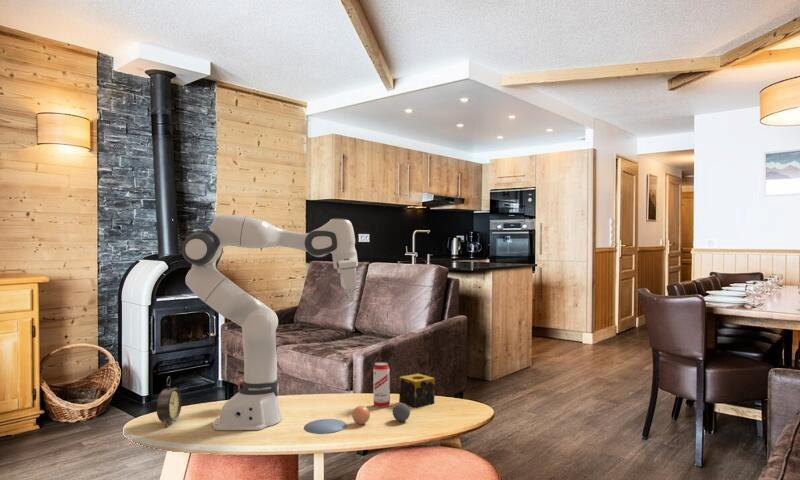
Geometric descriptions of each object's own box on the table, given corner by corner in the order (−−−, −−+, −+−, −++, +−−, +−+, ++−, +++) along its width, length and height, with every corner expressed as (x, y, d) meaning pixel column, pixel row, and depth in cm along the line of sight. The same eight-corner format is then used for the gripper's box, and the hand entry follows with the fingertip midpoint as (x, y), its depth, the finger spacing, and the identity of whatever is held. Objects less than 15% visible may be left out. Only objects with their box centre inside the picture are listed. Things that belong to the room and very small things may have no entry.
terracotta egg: (353, 427, 164) (353, 409, 165) (351, 421, 170) (351, 404, 170) (371, 426, 165) (370, 408, 166) (368, 420, 171) (368, 402, 172)
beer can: (389, 408, 185) (389, 365, 186) (372, 408, 185) (372, 365, 186) (390, 403, 191) (389, 361, 192) (374, 403, 192) (373, 362, 192)
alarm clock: (169, 429, 164) (170, 380, 165) (153, 429, 164) (153, 380, 164) (182, 418, 175) (182, 372, 176) (166, 419, 175) (167, 372, 175)
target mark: (304, 435, 157) (304, 434, 157) (304, 421, 171) (304, 420, 171) (348, 431, 160) (348, 431, 160) (344, 418, 174) (344, 417, 174)
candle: (398, 402, 193) (398, 376, 193) (418, 398, 199) (418, 373, 199) (414, 408, 185) (414, 381, 185) (435, 403, 191) (434, 377, 191)
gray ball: (394, 424, 167) (394, 406, 167) (391, 418, 173) (391, 401, 173) (411, 423, 168) (411, 405, 168) (408, 417, 174) (408, 400, 174)
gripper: (334, 263, 187) (339, 299, 187) (339, 264, 167) (343, 304, 167) (351, 261, 189) (355, 297, 189) (357, 261, 169) (362, 301, 168)
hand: (350, 300), depth 178 cm, fingers open, 8 cm apart
